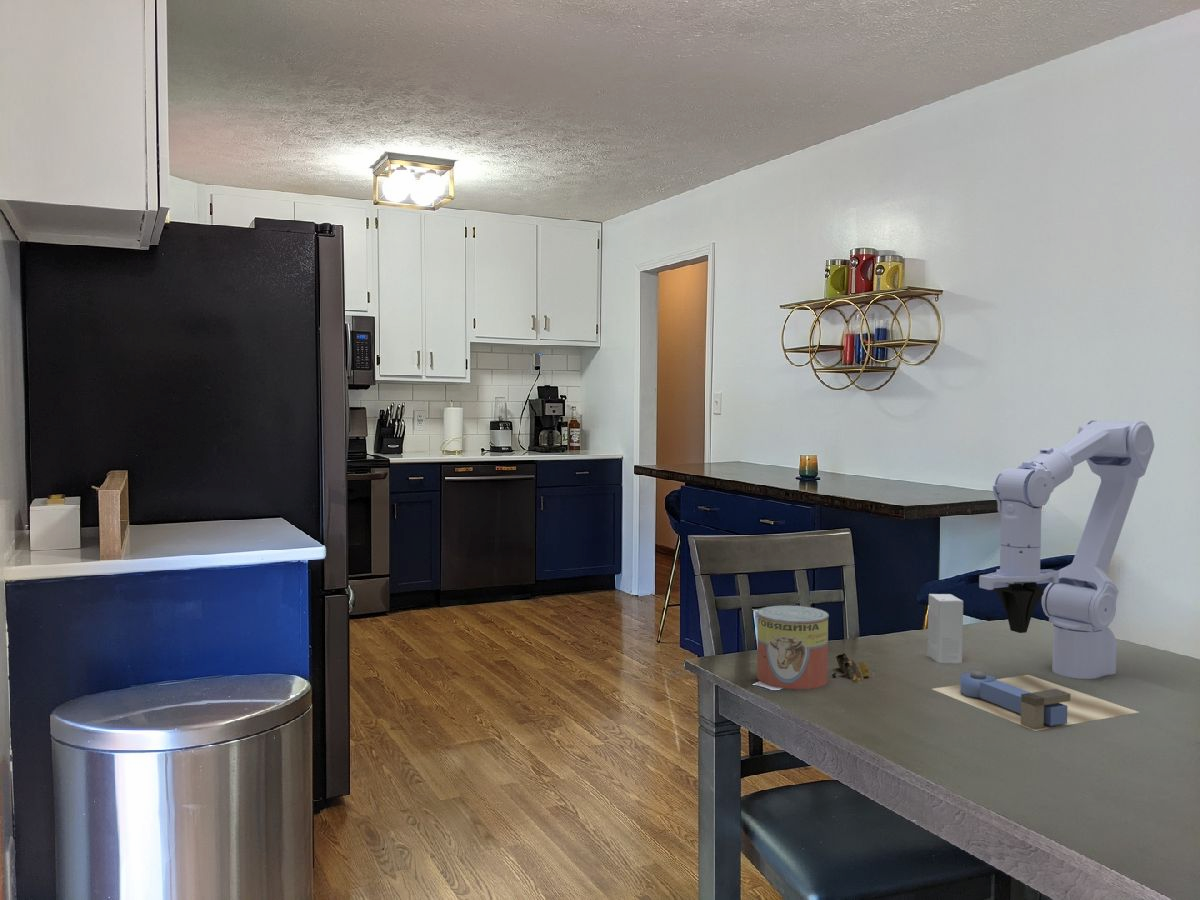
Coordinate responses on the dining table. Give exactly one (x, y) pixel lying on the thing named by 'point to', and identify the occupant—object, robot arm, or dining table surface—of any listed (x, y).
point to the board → (1078, 706)
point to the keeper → (1039, 706)
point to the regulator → (852, 669)
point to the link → (1006, 695)
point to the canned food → (792, 647)
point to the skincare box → (945, 628)
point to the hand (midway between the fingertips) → (1018, 631)
